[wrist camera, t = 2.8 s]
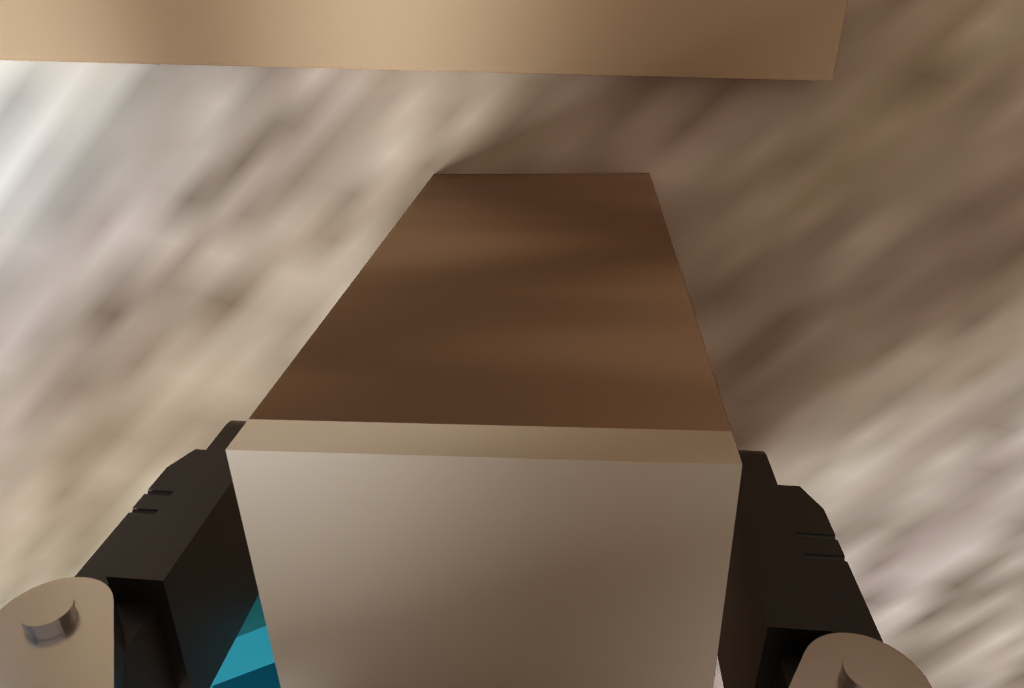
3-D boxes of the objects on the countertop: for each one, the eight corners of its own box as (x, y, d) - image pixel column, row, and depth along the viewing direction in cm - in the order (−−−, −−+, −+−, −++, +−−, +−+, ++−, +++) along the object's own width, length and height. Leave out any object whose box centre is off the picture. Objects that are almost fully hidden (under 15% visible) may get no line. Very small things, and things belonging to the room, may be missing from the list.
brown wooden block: (649, 173, 12) (742, 465, 5) (630, 519, 15) (670, 1008, 8) (433, 174, 12) (226, 449, 5) (458, 513, 15) (348, 980, 8)
